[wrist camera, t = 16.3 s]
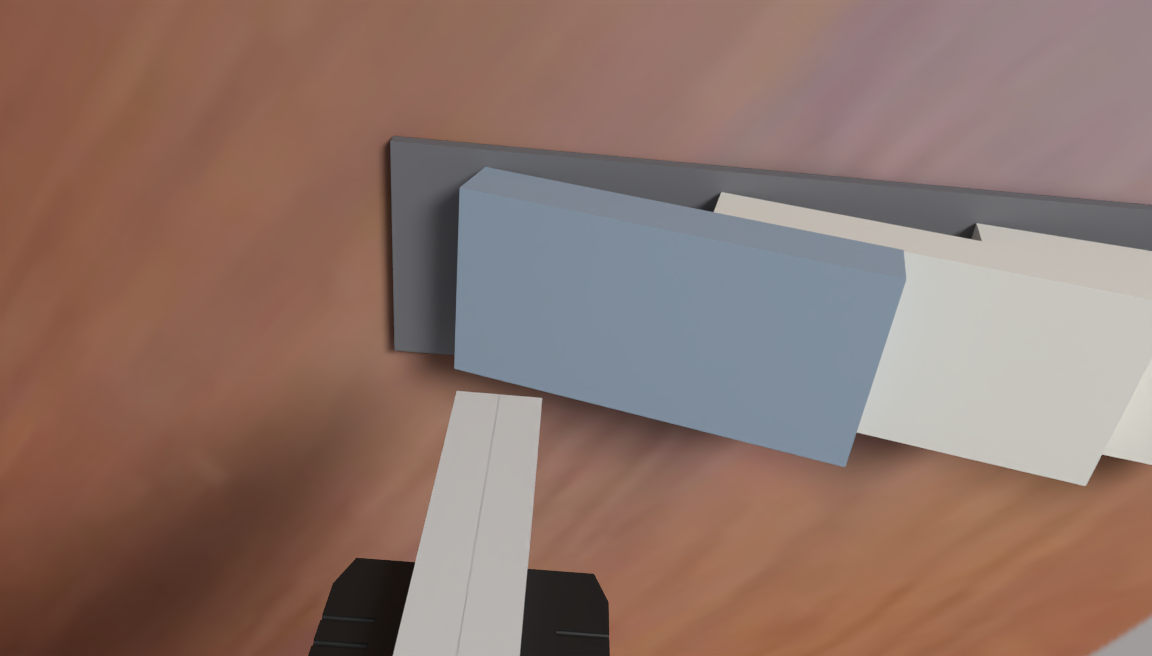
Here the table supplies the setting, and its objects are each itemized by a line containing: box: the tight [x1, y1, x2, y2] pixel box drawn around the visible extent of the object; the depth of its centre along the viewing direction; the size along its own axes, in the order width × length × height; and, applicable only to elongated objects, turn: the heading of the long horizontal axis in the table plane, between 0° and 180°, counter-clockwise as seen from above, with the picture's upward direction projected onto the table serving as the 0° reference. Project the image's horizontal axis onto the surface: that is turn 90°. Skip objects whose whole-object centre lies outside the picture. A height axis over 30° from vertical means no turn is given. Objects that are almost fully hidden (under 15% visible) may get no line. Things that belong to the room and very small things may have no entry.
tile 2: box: [714, 192, 1152, 486], centre depth 21 cm, size 2×5×10 cm
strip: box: [390, 136, 1152, 355], centre depth 23 cm, size 26×6×1 cm, turn 85°
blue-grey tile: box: [454, 167, 906, 467], centre depth 21 cm, size 2×5×10 cm
